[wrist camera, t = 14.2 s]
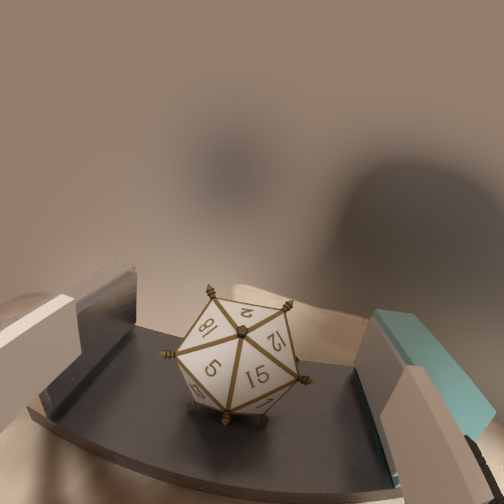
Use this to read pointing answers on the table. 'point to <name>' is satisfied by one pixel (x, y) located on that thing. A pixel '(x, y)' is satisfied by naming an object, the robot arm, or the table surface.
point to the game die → (238, 358)
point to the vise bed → (205, 414)
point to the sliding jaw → (415, 354)
